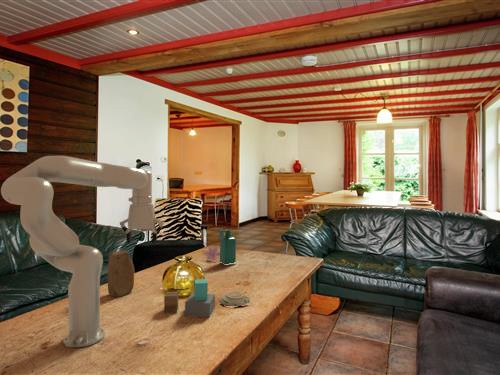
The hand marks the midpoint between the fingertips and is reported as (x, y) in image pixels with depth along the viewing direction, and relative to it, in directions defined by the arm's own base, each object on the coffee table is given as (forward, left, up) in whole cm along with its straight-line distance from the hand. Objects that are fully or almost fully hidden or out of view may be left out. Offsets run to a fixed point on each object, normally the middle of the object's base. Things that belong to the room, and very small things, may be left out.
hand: (141, 242), depth 134 cm
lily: (+80, -27, -29) cm, 89 cm away
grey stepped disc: (+8, -39, -29) cm, 49 cm away
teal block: (-2, -24, -23) cm, 33 cm away
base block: (-2, -24, -29) cm, 37 cm away
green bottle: (+71, -37, -28) cm, 85 cm away
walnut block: (0, -12, -28) cm, 31 cm away
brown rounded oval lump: (+21, +14, -28) cm, 38 cm away
